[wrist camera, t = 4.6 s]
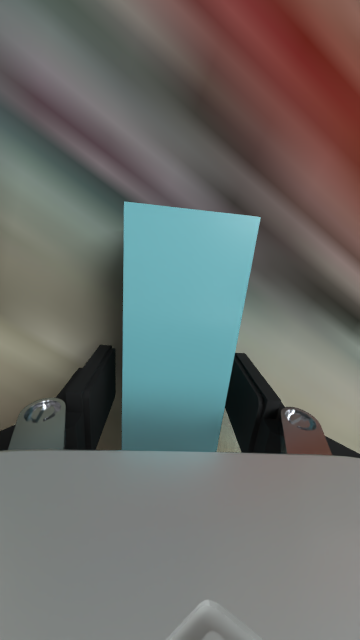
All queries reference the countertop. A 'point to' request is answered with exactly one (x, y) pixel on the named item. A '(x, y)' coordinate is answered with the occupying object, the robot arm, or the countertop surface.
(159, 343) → the teal rectangular stick
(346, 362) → the countertop surface
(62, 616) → the robot arm
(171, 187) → the countertop surface
